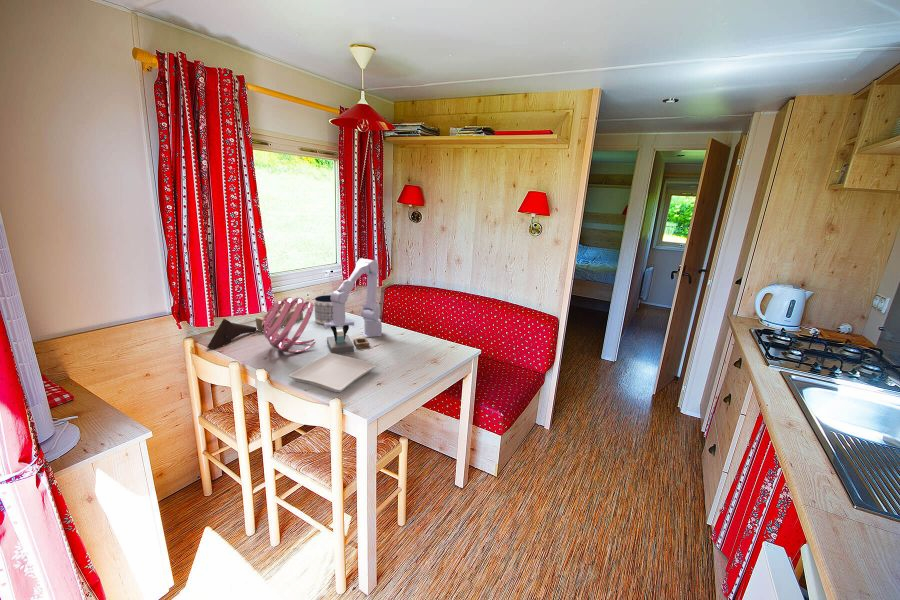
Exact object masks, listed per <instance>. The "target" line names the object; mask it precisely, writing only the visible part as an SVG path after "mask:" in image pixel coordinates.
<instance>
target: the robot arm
mask: <svg viewBox="0 0 900 600" xmlns="http://www.w3.org/2000/svg"><path fill="white" fill-rule="evenodd" d="M355 266H356V267H355V268H354V270H353V271H352V273H351V274H350V276H349V277H348V279H345V280H343V282H342V283H341V284H340V285H339V287H338V288H337V289H336V290H335V291H333V292H332V293H331V294H330V295H331V297H330V299H331V301H332V304H333V315H334V322H330V323H325V324H324V328H325V329H328V328H330V329H331V331H332V334H333V336H334V337H335V341H337V335H336V333H337V330H338V329H337V327H342V330H343V332H344V340H345V337H346V335H347V333H348V331H349V329H350V326H352V327H353V326H355V321H354V320H346V302H348V299H349V298H348V297H349V294H350V293H351V291H352V290H353V289H354V288H355V283H356V282H357V280H358V279H359V278H360V277H361V276H362V275H363V274H365V275H367V282H366V285H367V287H366V298H365V299H366V300H365V303H364V304H363V305H362V307H361V308H362V309H361V312H360V315H361V318H363V319H362V320H364V322H363V323H364V325H363V326H364V331H362V334H363V336H364V338H372V337H382V325H383V324H382V320H381V319H380V318H381V308H380V306H379V305H378V304H377V295H378V293H377V292H378V291H377V290H378V277H379V263H378V262H377V261H376V260H373V259H368V258H362V257H360V258H359V259H358V260H357V262H356V265H355Z"/></svg>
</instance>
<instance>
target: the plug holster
mask: <svg viewBox="0 0 900 600" xmlns="http://www.w3.org/2000/svg"><path fill="white" fill-rule="evenodd" d="M352 340H353V341H352V343H353V345H354V348H356V349H364V348H365V349H366V348H370V342H369V340H368V339H367V337H359V338H353V339H352Z"/></svg>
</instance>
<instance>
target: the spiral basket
mask: <svg viewBox="0 0 900 600" xmlns="http://www.w3.org/2000/svg"><path fill="white" fill-rule="evenodd" d="M295 305H296V309H295V311H294V313H293V315H292V317H291V318H290V320H289V322H288V324H287V325H286V326H284V327H283V328H284V329H283V330H282V331H281V333H280V334H279V330H280V329H281V328H282V327H281V325H282V323H283V321H284V320H285V318H286V317H287V315H288V314H289V312H290V311H291V309H292V308H293V307H294V306H295ZM306 309H307V310H306ZM280 310H282V312H281V313H280V315H279V317H278V318H277V320H276V322H275V323H274V325H273V326H272V327H271V328H270V326H271V324H272V322H273V320H274V319H275V317H276V315H277V314H278V313H279V311H280ZM305 310H306V314H305V316H303V320H301V323H300V325H299V327H298V329H297V330H296V332H295V334H294V335H293V336H292V337H291V338H288V337H289V334H290V333H291V330H292V329H293V326H294V325H295V323H297V322H296V320H297V319H298V317H299V316H300V314H301V313H302V312H304V311H305ZM313 311H314V303H312V301H309V300H307V301H305V302H304V299H303V298H302V297H300V296H299V297H298V296H297V297H296V298H294V299H293V297H290V296H288V297H285V298H284V299H283V300H282V301H281V300H280V299H279V300H277V301H275V302H274V303H273V304H272V306H270V307H269V309H268V311H267V312H266V314H265V316H264V315H263V316H264V319H263V323H262V327H263V329H264V332H263V336H264V338H265V339H266V340H267V341H268V342H269V345H270V346H271V347H272V348H275V349H277V350H278V351H280V352H282V353H287V354H298V353H302V352H305V351H308V350H310V348H312V347H313V346H314V345H315V343H316V341H315V339H310V340H299V338H300V337H301V335H302V334H303V333H304V331H305V329H306V327H307V325H308V324H309V321H310V319H311V318H312V314H313ZM269 314H270V315H269ZM268 316H269V317H268ZM280 327H281V328H280ZM312 342H313V343H312ZM309 343H311V344H310V345H309V346H307V347H305V348H303V349H300V350H291V349H292V348H293V347H294V345H305V344H309ZM285 344H286V345H285Z"/></svg>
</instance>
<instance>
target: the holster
mask: <svg viewBox="0 0 900 600" xmlns="http://www.w3.org/2000/svg"><path fill="white" fill-rule="evenodd" d="M255 331H257V326H252V325H251V326H250V325H245V324H240V323H235V322H231V321H230V320H228V319H226V318H223V319H222V321H221V322H220V325H219V326H218V328H217V329H216V331H215V333H214V335H213V336H212V338H211V339H210V342H209V343H208V345H207V346H206V347H207V349H208V348H209V349H213V350H214V349H215V350H216V348H217V349H219V348H222V347H224V346H223V345H225V346H226V345H228V344H229V343H231V342H232V341H233V340H234V339H236V338H238V337H239V336H241V335H243V334H252V333H251V332H254V333H256V332H255Z"/></svg>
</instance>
